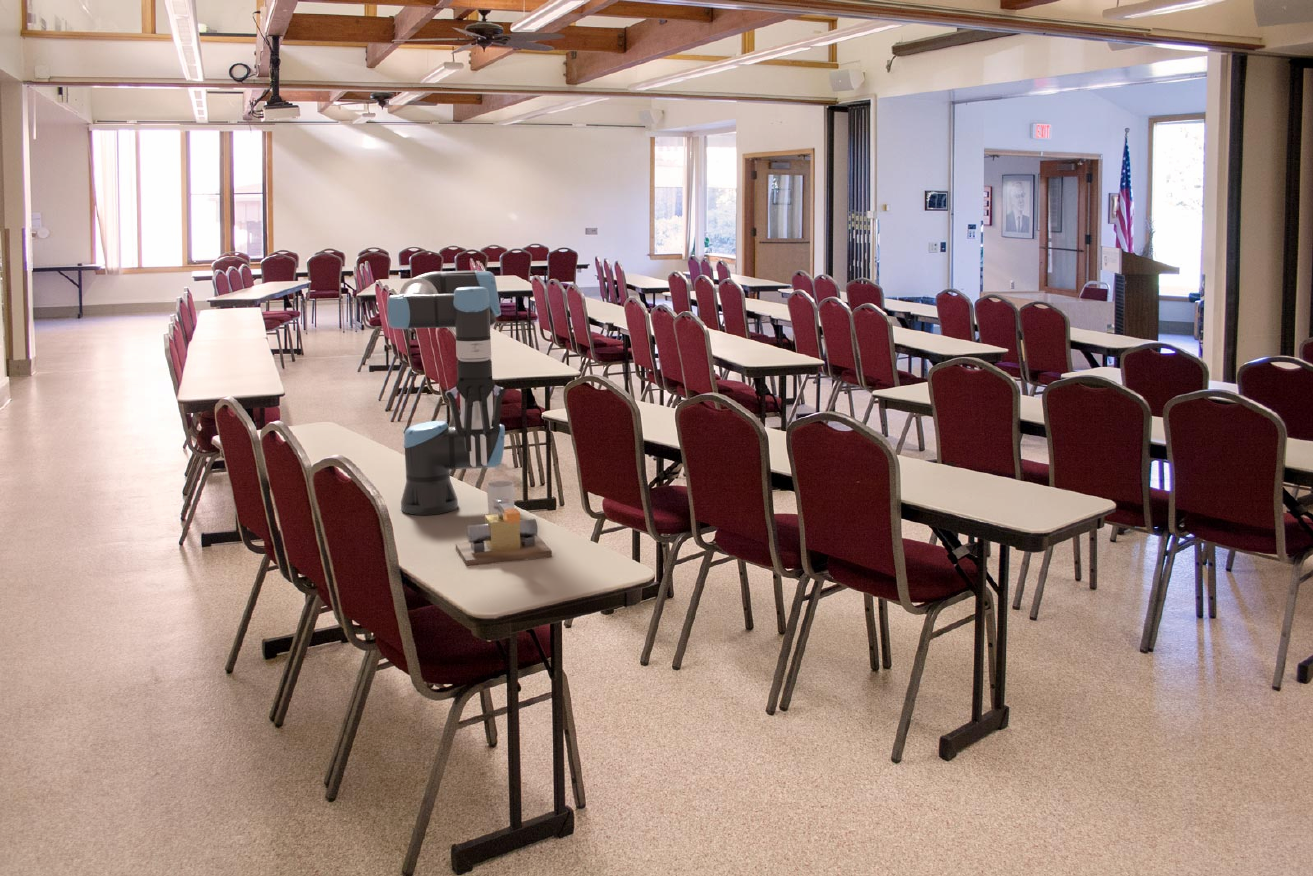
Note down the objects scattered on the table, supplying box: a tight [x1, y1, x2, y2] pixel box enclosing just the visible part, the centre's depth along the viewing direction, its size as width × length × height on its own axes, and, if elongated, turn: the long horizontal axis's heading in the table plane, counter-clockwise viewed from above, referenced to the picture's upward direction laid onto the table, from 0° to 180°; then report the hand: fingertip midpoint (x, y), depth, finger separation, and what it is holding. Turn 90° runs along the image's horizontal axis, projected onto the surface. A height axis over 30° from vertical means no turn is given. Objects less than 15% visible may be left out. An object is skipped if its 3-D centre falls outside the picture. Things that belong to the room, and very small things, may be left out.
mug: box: [486, 480, 515, 515], centre depth 286 cm, size 10×7×12 cm, turn 19°
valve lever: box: [493, 498, 521, 524], centre depth 259 cm, size 15×4×2 cm, turn 20°
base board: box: [454, 534, 553, 567], centre depth 266 cm, size 14×20×2 cm
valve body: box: [466, 510, 538, 553], centre depth 265 cm, size 7×16×9 cm, turn 110°
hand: (478, 464), depth 249 cm, fingers open, 2 cm apart
